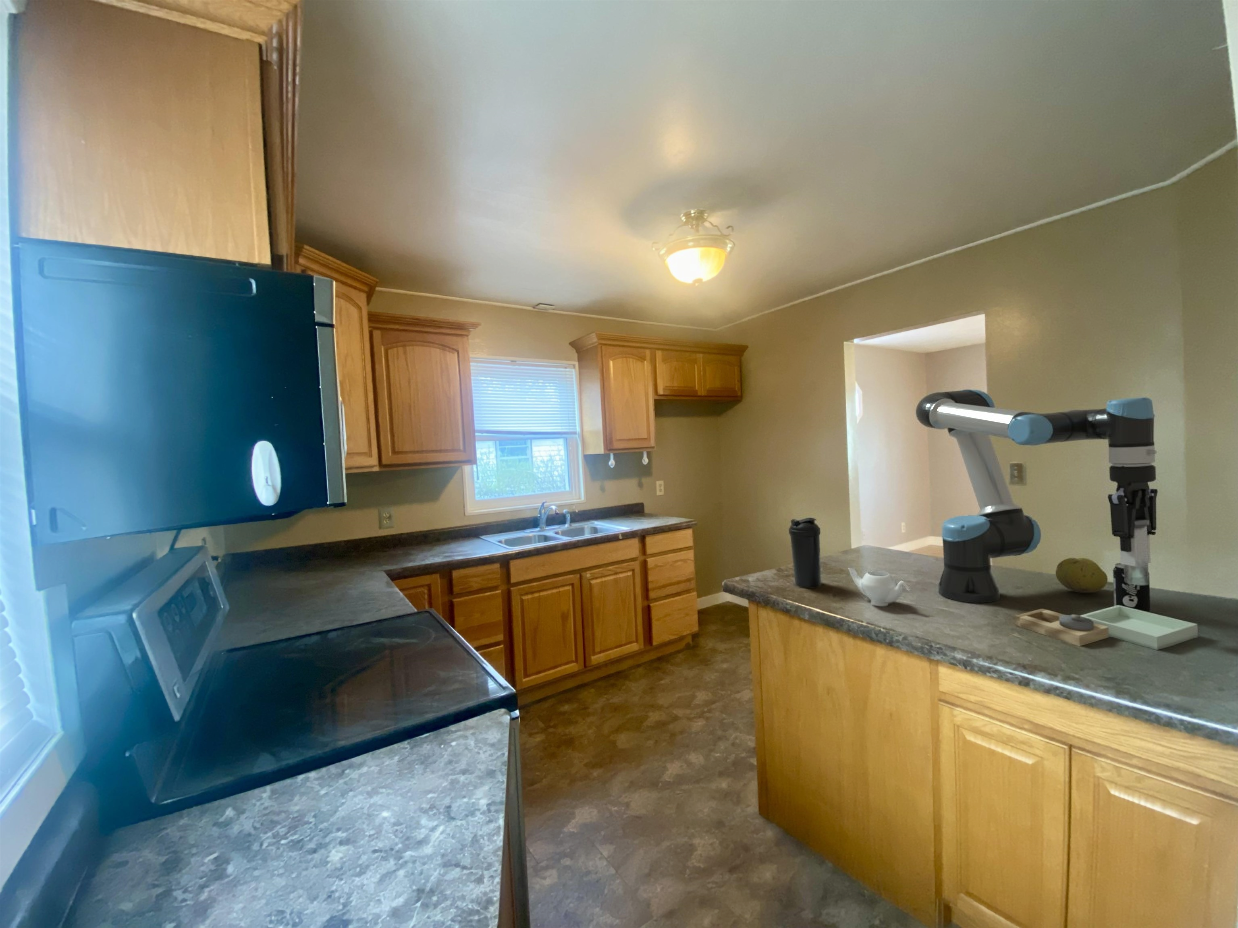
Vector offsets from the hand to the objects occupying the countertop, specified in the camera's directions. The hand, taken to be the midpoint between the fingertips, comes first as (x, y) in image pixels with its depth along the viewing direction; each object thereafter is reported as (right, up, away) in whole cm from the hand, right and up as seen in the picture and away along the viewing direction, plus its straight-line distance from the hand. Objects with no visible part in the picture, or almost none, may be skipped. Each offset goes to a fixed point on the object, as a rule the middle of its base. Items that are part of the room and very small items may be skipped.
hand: (1135, 563), depth 117 cm
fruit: (+13, -14, +28) cm, 34 cm away
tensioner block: (-13, -18, +5) cm, 23 cm away
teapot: (-43, -19, +33) cm, 57 cm away
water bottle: (-56, -19, +56) cm, 81 cm away
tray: (+1, -17, +1) cm, 17 cm away
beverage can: (+13, -15, +13) cm, 24 cm away
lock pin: (0, -5, 0) cm, 5 cm away
